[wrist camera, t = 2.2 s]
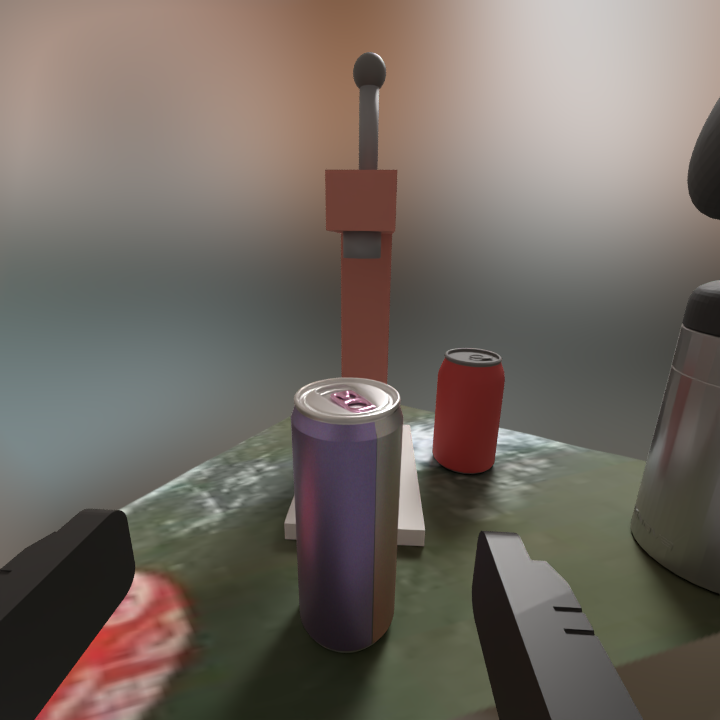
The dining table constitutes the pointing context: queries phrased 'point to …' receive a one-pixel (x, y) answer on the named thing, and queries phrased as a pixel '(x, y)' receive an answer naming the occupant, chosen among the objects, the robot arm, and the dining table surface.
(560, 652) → the robot arm
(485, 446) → the beer can
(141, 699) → the dining table surface
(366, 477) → the beverage can
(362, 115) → the bench press
